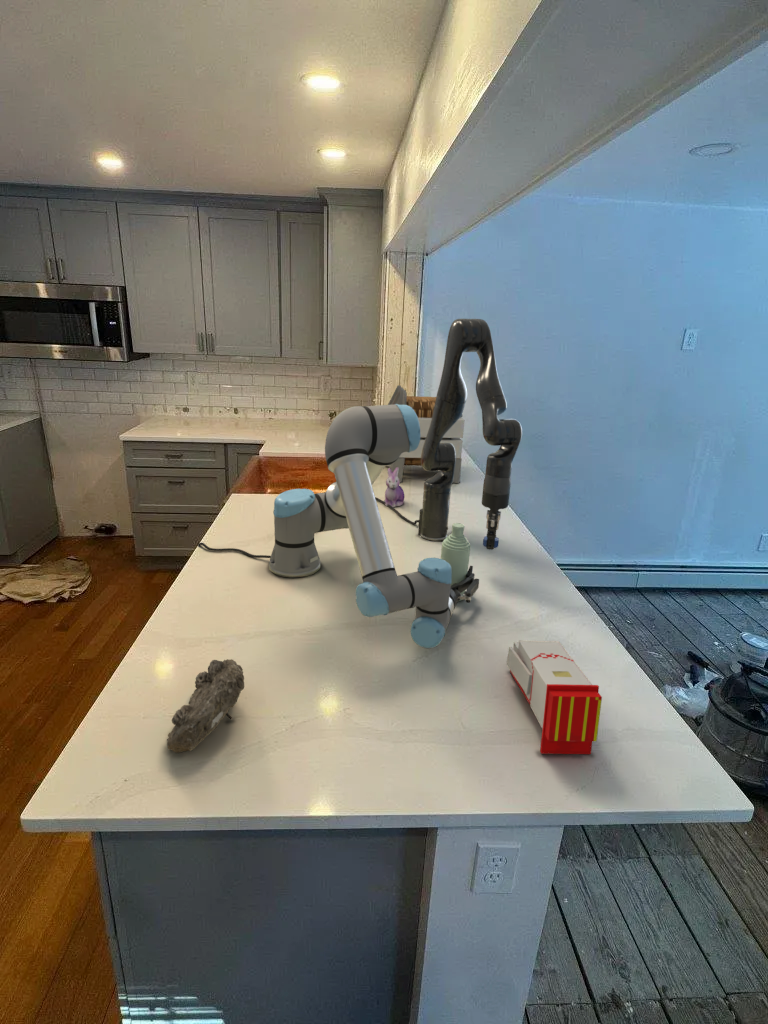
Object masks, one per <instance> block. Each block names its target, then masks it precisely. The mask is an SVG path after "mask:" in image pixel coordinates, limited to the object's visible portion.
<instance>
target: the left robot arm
mask: <svg viewBox="0 0 768 1024" xmlns="http://www.w3.org/2000/svg"><path fill="white" fill-rule="evenodd" d="M420 435H421V434H420V424H419V420H418V417H417V415H416V413H415V411H414V410H413V409H412V408H411V407H410V406H408V405H398V404H395V405H388V404H379V405H362V406H361V405H355V406H351V407H347V408H346V409H343V411H341V412H339V413H338V414H337V415H336V417H334V419H333V420H332V422H331V423H330V426H329V428H328V429H327V433H326V436H325V441H324V442H325V444H324V457H325V461H326V465H327V469H328V471H329V472H331V473H333V475H334V478H335V482H333V483H331V484H330V485H329V486H328V487H327V489H326V490H325V492H317V493H315V492H314V491H313V490H312V489H309V488H292V489H289V490H285V491H283V492H281V493H279V494H278V495H277V496H276V497H275V499H274V502H273V511H272V512H273V519H274V526H273V527H274V545H273V548H272V551H271V554H270V555H266V554H265V555H264V554H259V555H258V554H253V553H249V552H248V551H246V550H243V549H240V548H234V547H233V548H232V547H231V548H230V547H228V548H213V547H209V546H208V545H207V544H205V543H204V542H199V543H197V547H200V546H202V547H203V548H204V549H207V550H208V551H212V552H238V553H242V554H244V555H246V556H248V557H251V558H256V559H269V562H268V568H269V571H270V572H271V573H272V574H274V575H276V576H278V577H283V578H291V579H294V578H295V579H296V578H304V577H308V576H311V575H314V574H315V573H317V572H318V571H320V569H321V558H320V555H319V552H318V550H317V546H316V543H315V534H317V533H323V532H324V533H325V532H330V531H336V530H343V529H349V534H350V538H351V541H352V544H353V549H354V552H355V557H356V560H357V563H358V567H359V570H360V575H361V579H362V582H361V583H359V584H358V585H357V586H356V588H355V602H356V606H357V608H358V611H359V612H360V613H361V615H363V616H364V617H366V618H374V617H378V616H379V617H380V616H387V615H389V614H392V613H397V612H401V611H404V610H409V609H414V608H415V612H414V619H413V620H412V622H411V627H410V631H409V632H410V637H411V639H412V640H413V642H414V643H415V644H416V645H417V646H419V647H421V648H424V649H432V648H435V647H437V646H439V645H440V644H441V642H442V640H443V639H444V637H445V635H446V632H447V629H448V626H449V623H450V621H451V619H452V616H453V614H454V611H455V609H456V606H457V603H458V602H460V601H459V600H460V599H463V601H465V603H467V604H470V603H471V600H472V597H473V596H474V594H475V593H476V591H477V590H478V589H479V587H480V586H479V585H480V578H475V576H476V575H475V573H474V572H473V568H474V566H473V565H469V566H468V572H467V575H466V579H464V580H462V581H461V582H459V583H455V584H453V585H451V583H452V572H451V566H450V564H449V563H448V562H446V561H445V560H443V559H441V558H439V557H426V558H423V559H422V560H420V561H419V562H418V566H417V571H414V572H409V573H405V574H399V575H398V574H397V570H396V568H395V564H394V561H393V557H392V552H391V550H390V549H391V548H390V546H389V542H388V539H387V535H386V532H385V531H386V530H385V528H384V525H383V520H382V517H381V513H380V510H379V506H378V502H377V500H376V499H375V497H376V494H375V492H374V488H373V484H374V483H375V482H376V480H377V479H378V477H379V476H380V475H381V473H382V471H383V470H384V469H385V467H387V466H388V465H391V464H393V463H394V462H395V461H396V460H397V459H398V457H399V456H400V455H401V453H403V452H411V451H414V450H416V449H417V447H418V445H419V442H420ZM463 591H464V593H463V594H460V593H462V592H463Z"/></svg>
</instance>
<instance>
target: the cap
mask: <svg viewBox="0 0 768 1024" xmlns="http://www.w3.org/2000/svg"><path fill="white" fill-rule="evenodd" d="M482 540H483V541H482V546H483V547H484V548H486V545H487V536H486V535H485V536H483V539H482ZM499 544H500V538H499V537H497V536H496V538H495V543H494V549H497V548H498V547H499Z"/></svg>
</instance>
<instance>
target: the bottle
mask: <svg viewBox="0 0 768 1024" xmlns="http://www.w3.org/2000/svg"><path fill="white" fill-rule="evenodd" d="M465 527H466V526H465V524H464V523H460V522H454V523H452V524H451V533H450V534H448V535H447V537H446V539H444V540H442V542H441V551H440V559H443V560H445V561H446V562H448V563H449V564H450V566H451V572H452V583H451V585H453V584H455V583H459V582H461V581H462V580H464V579H466V575H467V572H468V570H469V565H470V564H469V563H470V556H471V542H470V541H469V539H468V538H467V537H466V536H465V534H464V531H465ZM463 593H464V591H463V592H462V593H460V594H463ZM461 601H464V599H460V600H459V601H458V602H461Z"/></svg>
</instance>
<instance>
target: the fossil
mask: <svg viewBox="0 0 768 1024" xmlns="http://www.w3.org/2000/svg"><path fill="white" fill-rule="evenodd" d="M243 670H244V669H243V667H242V665H240V664H237V662H236V661H235V660H234V659H232V658H231V659H227V658H226V659H224V660H223V661H222V660H217V659H212V660H211V661H210V663H209V665H208V666H207V671H201V672H199V673H198V674H197V675H196V676H195V680H194V684H195V685H194V687H195V689H194V690H193V693H192V694H191V697H190V698H189V700H188V704H184V705H182V706H181V707H180V709H177V710H176V711H175V713H174V715H173V716H172V718H171V723H172V724H173V727H172V730H171V731H170V732H168V734H167V738H166V741H167V742H166V745H167V749H168V750H169V751H173V752H174V753H176V754H178V753H182V752H188V751H189V752H192V751H193V750H195V748H196V747H197V746H199V744H200V743H201V742H203V741H204V740H205V739H206V738H207V737H208V736H209V735H210V734H211V733H212V732H214V730H215V729H217V727H218V726H219V724H220V722H221V721H222V720H223V719H224V718H225V716H226V717H227V719H229V720H233V717H232V715H230V714H229V710H230V709H231V708H234V706H235V704H236V703H237V702H238V699H239V697H240V695H241V693H242V691H243V690H245V689H244V688H245V675H244V671H243Z"/></svg>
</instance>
